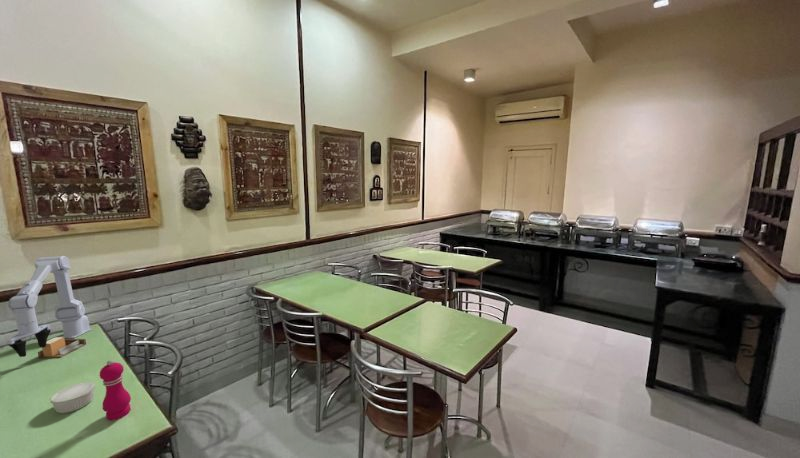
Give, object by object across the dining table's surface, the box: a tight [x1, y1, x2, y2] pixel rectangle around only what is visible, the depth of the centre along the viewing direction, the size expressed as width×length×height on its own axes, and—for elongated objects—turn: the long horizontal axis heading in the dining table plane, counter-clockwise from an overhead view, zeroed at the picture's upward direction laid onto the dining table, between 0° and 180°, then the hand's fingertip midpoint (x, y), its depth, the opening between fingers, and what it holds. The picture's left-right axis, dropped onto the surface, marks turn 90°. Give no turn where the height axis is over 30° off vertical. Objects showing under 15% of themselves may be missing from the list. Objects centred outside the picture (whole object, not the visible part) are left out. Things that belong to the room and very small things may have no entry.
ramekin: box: [49, 381, 96, 414], centre depth 114 cm, size 11×11×5 cm
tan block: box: [41, 336, 66, 356], centre depth 148 cm, size 6×4×6 cm
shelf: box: [37, 338, 87, 359], centre depth 151 cm, size 12×10×3 cm
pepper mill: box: [99, 359, 132, 421], centre depth 108 cm, size 7×7×20 cm
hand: (33, 351), depth 139 cm, fingers open, 7 cm apart
